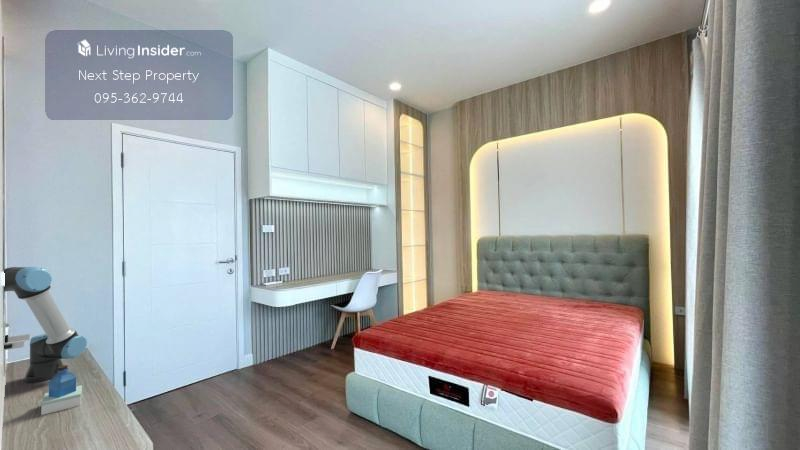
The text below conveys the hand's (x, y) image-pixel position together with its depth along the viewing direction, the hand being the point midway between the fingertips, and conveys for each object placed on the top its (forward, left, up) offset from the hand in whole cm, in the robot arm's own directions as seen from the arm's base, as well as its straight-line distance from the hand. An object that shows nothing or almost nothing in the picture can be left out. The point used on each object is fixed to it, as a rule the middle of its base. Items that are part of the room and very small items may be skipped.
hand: (27, 340), depth 148 cm
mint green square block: (+6, +12, -30) cm, 33 cm away
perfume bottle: (+6, +12, -25) cm, 28 cm away
